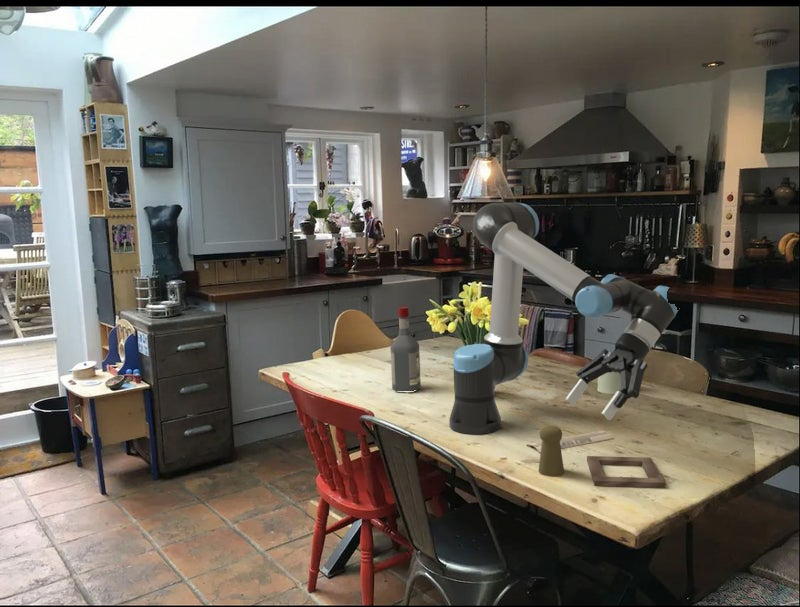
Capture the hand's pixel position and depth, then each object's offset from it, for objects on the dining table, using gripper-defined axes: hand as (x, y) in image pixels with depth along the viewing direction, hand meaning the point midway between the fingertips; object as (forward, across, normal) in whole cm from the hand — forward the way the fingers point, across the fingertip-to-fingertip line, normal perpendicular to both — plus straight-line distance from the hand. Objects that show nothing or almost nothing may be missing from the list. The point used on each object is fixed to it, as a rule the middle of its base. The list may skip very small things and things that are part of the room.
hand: (586, 409), depth 154 cm
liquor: (+18, +86, -1) cm, 88 cm away
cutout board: (+7, -8, -13) cm, 17 cm away
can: (-24, +49, -44) cm, 71 cm away
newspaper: (+6, +14, -15) cm, 21 cm away
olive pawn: (+17, 0, -3) cm, 17 cm away
